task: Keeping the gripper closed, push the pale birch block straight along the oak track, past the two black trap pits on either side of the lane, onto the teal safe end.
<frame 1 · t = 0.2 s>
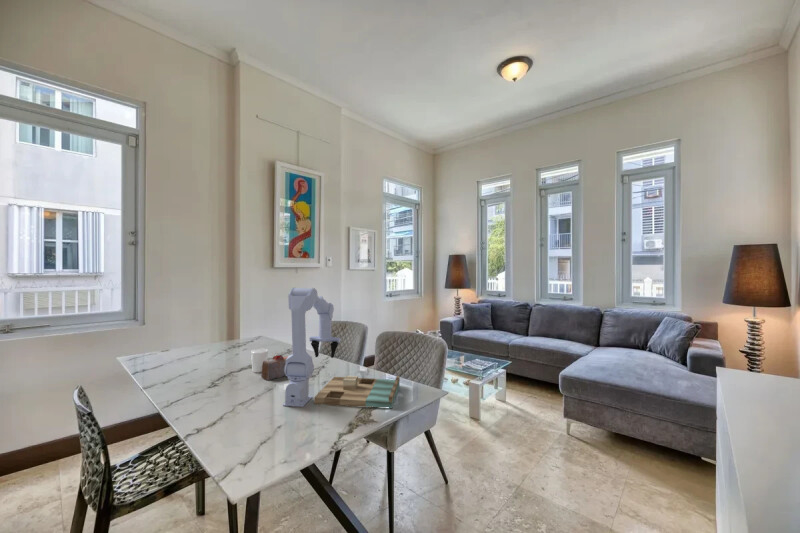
hand: (324, 357, 153), 10 cm above the table, tool pointing down, fingers open, 7 cm apart
food item: (278, 376, 156), on the table
track: (360, 394, 135), on the table
white cup: (259, 371, 163), on the table
block: (350, 387, 135), point 2 cm above the table, touching track
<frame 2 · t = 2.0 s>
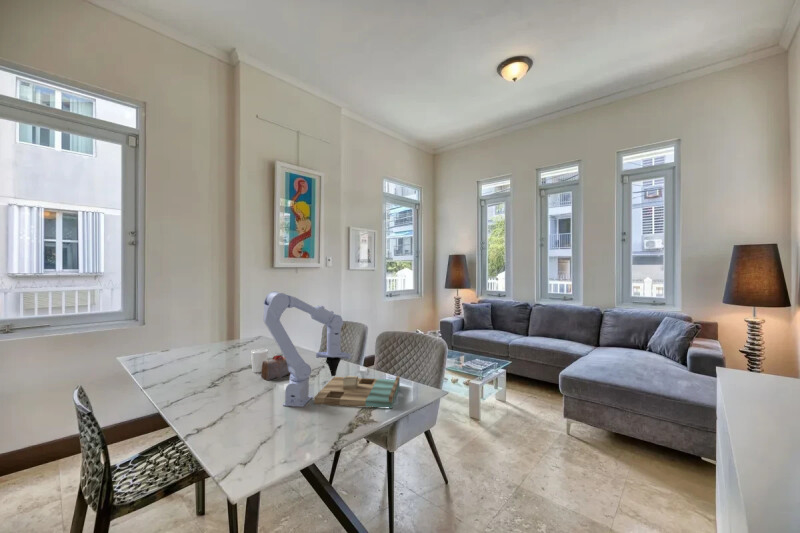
hand: (333, 375, 136), 7 cm above the table, tool pointing down, fingers closed
nothing on the table moved.
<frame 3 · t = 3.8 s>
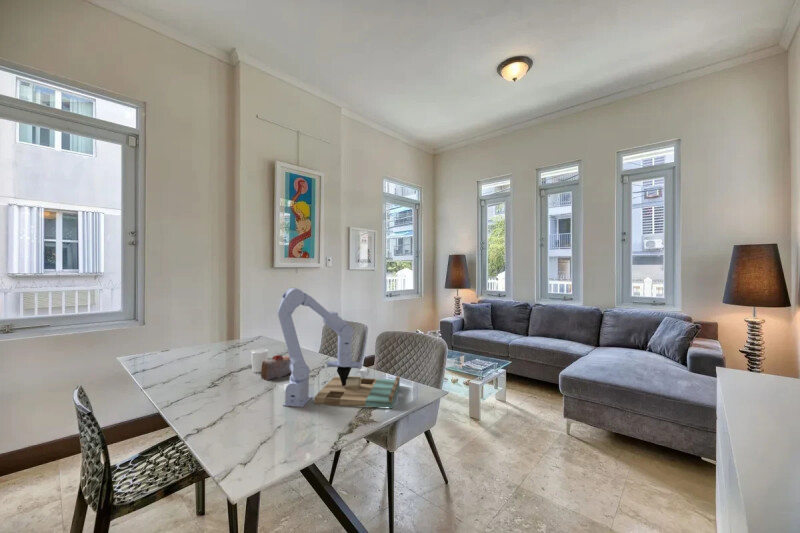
hand: (344, 385, 135), 3 cm above the table, tool pointing down, fingers closed
block: (353, 387, 135), point 3 cm above the table, touching gripper, track
everything else where it was.
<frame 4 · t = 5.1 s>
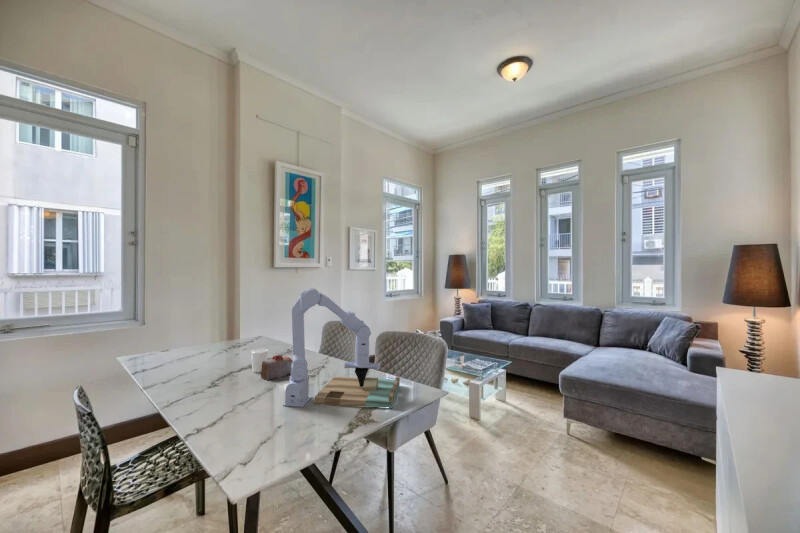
hand: (361, 385, 135), 3 cm above the table, tool pointing down, fingers closed
block: (371, 388, 134), point 3 cm above the table, touching gripper, track
everything else where it was.
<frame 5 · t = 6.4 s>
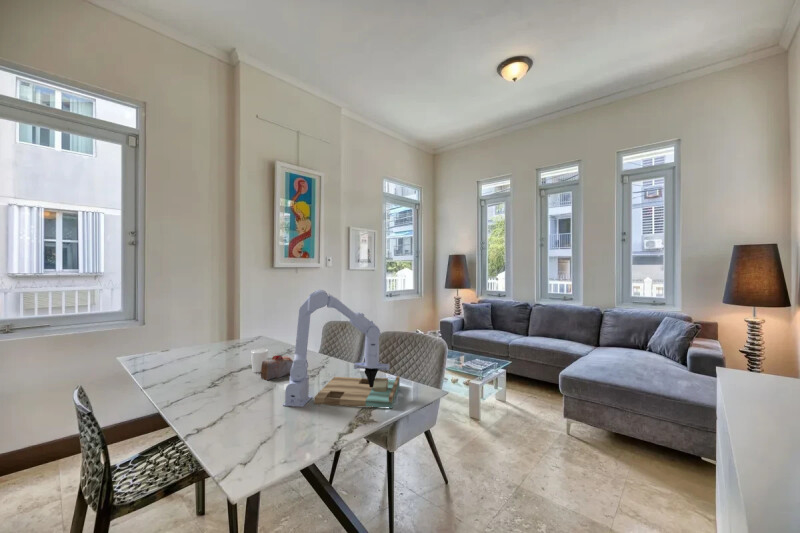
hand: (371, 386, 134), 3 cm above the table, tool pointing down, fingers closed
block: (380, 389, 134), point 2 cm above the table, touching gripper, track
everything else where it was.
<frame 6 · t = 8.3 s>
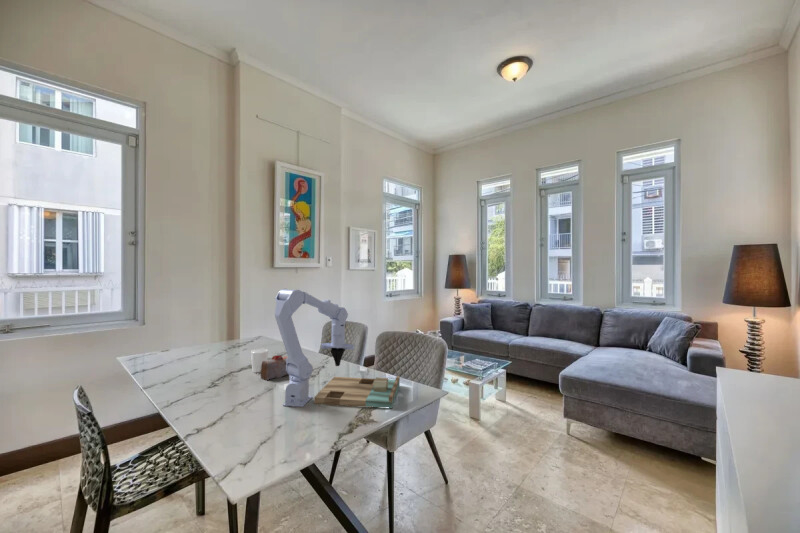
hand: (337, 365, 142), 9 cm above the table, tool pointing down, fingers closed
block: (380, 389, 134), point 2 cm above the table, touching track
everything else where it was.
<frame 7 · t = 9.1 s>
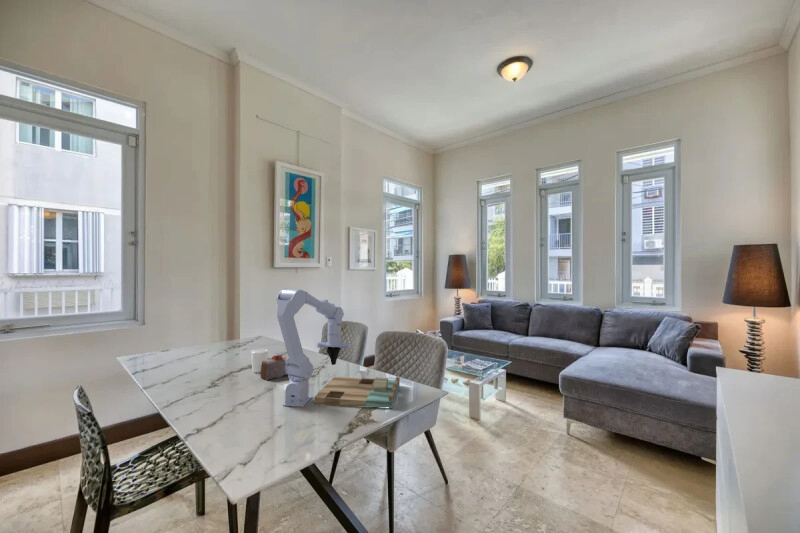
hand: (333, 364, 144), 9 cm above the table, tool pointing down, fingers closed
nothing on the table moved.
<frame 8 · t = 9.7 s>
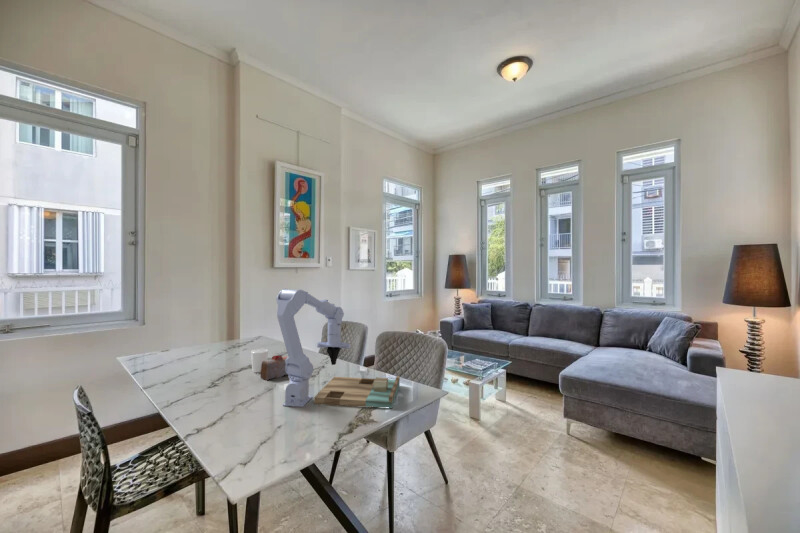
hand: (333, 364, 144), 9 cm above the table, tool pointing down, fingers closed
nothing on the table moved.
at the end: block inside the target area on the track (0.8 cm from its centre), point 2.5 cm above the track's base; block tilted 0°; block moved 12.7 cm from its start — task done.
